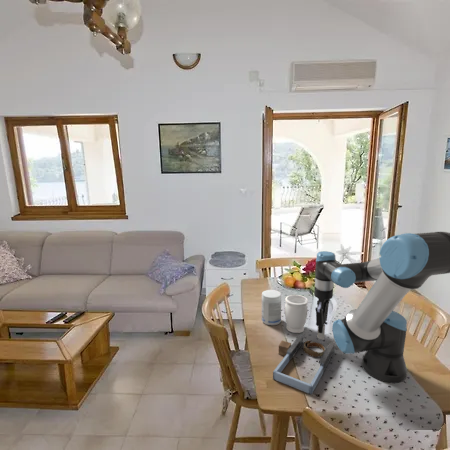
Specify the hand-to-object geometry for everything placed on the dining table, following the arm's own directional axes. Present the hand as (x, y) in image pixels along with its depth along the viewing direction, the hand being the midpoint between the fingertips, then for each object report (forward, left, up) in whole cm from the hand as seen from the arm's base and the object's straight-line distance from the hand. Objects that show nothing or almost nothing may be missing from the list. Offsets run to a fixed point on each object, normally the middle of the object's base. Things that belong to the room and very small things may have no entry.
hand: (320, 338), depth 139 cm
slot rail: (-4, +12, -1) cm, 13 cm away
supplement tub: (+26, +5, -2) cm, 26 cm away
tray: (-9, +26, -1) cm, 27 cm away
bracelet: (-3, +8, -2) cm, 9 cm away
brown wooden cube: (+4, +19, -2) cm, 19 cm away
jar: (+14, +1, -2) cm, 14 cm away
